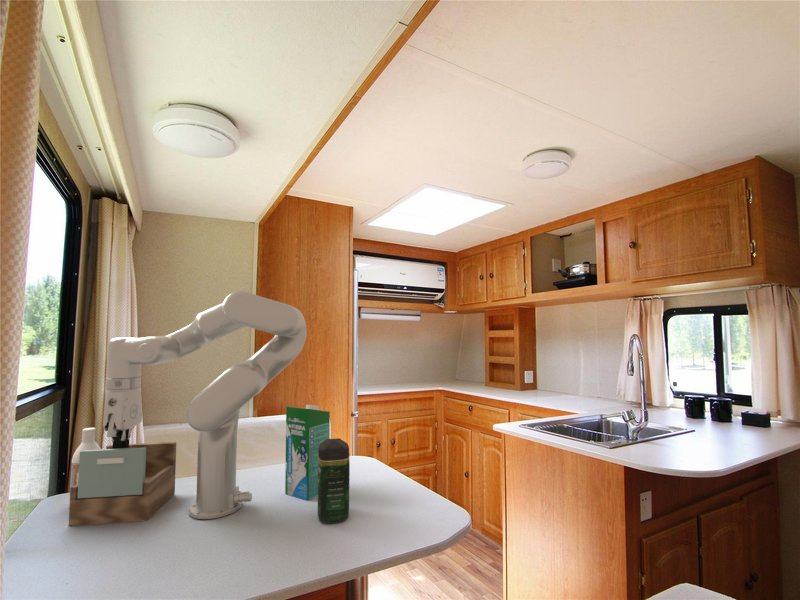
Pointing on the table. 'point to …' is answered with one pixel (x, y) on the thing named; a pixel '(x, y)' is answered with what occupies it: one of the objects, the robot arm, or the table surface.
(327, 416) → the milk carton
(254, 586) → the table surface
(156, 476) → the tray
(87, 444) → the bath foam
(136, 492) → the panel
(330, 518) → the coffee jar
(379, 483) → the table surface
